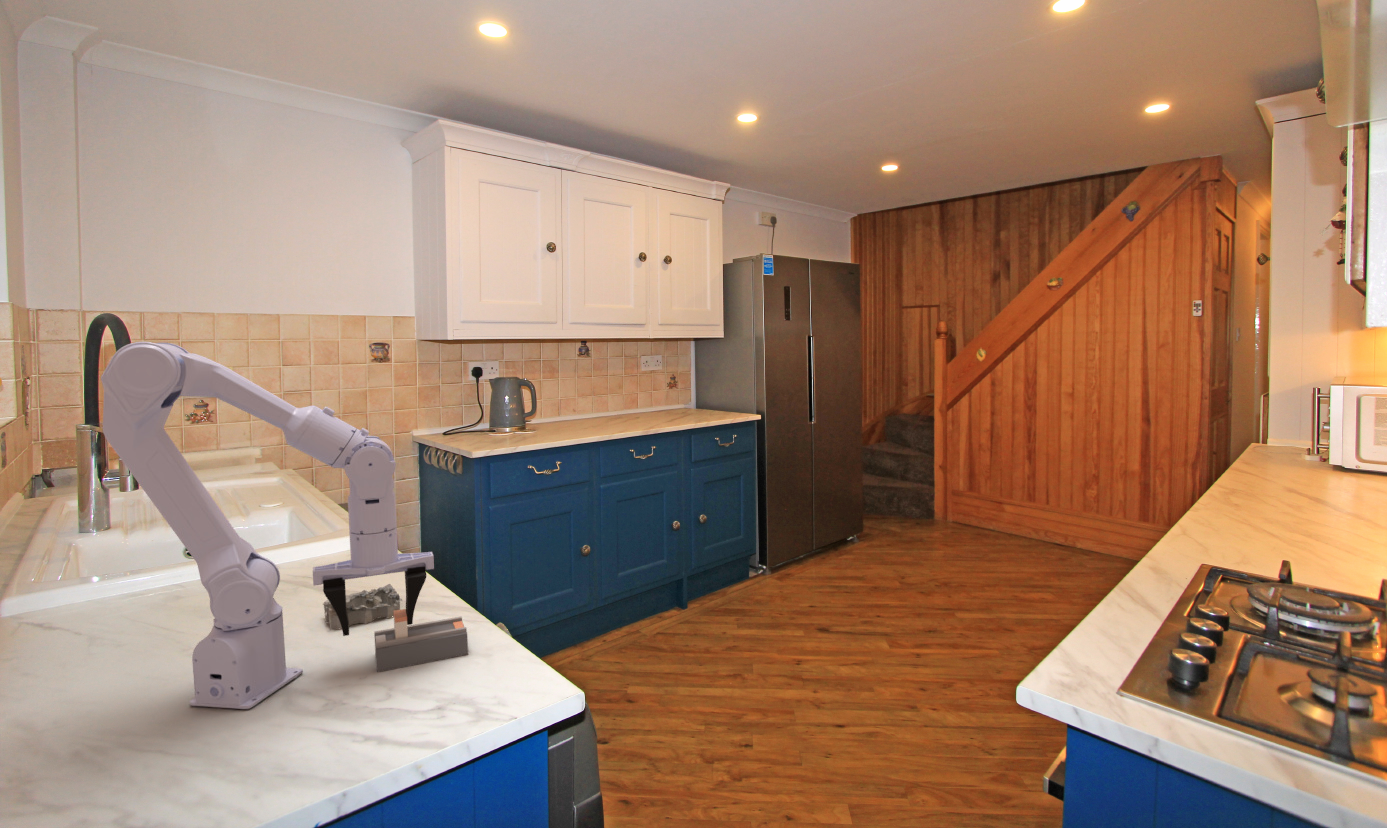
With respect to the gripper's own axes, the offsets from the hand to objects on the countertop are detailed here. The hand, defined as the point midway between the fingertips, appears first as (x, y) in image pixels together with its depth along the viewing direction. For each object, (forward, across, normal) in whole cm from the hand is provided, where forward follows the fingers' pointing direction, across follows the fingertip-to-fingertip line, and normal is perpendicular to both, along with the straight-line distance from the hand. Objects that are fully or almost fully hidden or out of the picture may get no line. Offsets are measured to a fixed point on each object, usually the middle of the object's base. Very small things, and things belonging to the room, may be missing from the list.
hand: (378, 627), depth 91 cm
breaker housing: (+5, +5, 0) cm, 7 cm away
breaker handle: (+2, +3, 0) cm, 3 cm away
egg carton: (+5, -2, +19) cm, 20 cm away
